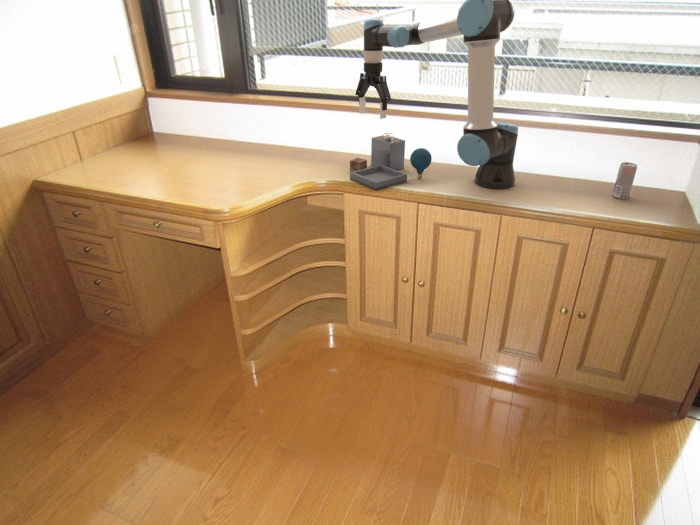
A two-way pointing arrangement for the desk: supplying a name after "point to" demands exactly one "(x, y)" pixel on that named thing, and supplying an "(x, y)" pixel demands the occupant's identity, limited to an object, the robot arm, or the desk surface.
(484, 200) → the desk surface
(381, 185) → the tray
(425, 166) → the light bulb
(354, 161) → the walnut block
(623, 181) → the energy drink
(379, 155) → the block
